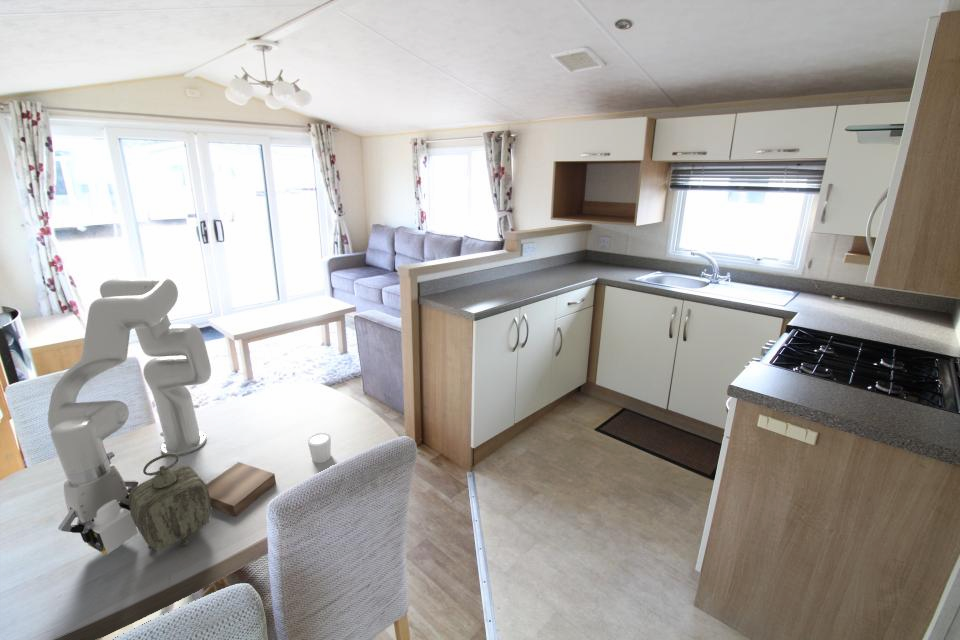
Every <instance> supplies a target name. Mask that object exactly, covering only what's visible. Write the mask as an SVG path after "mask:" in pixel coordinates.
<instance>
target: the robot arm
mask: <svg viewBox="0 0 960 640" xmlns="http://www.w3.org/2000/svg"><path fill="white" fill-rule="evenodd" d="M99 293H100V295H101V298H98V299H95V300H94V301H92V303H91V304H90V305H89V309H88V313H87V320H86V326H85V334H84V339H83V346H82V347H83V348H82V353H81V357H80V358H79V360H78V361H76V362H75V363H74V364H73V365H72V366H70V367H69V368H68V370H66V371H65V373H64V374H63V375H62V376H61V378H60V379H58V381H57V382H56V383H55V386H54V388H53V389H52V392H51V395H50V400H49V406H48V411H47V424H48V426H47V427H48V428H49V430H50V438H51V441H52V443H53V447H54V449H55V451H56V455H58V456H57V457H58V459H59V462H60V464H61V467H62V469H63V473H64V475H65V478H66V479H67V480H66V481H65V482H64V483H63V495H64V500H65V506H66V509H67V514H66V516H65V517H64V518H63V520H62V521H61V523H60V524H59V526H58V528H57V529H58V530H59V531H61V532H64V533H65V532H66V533H73V534H74V533H75V534H80V536H81V539H82V541H83V542H84V543H85V544H88V542H89V543H91V544H93V545H94V544H96V543H97V540H96V538H95V535H94V533H93V530H92V529H90V525H91V522H92V519H94V518H95V517H97V511H98V510H99V509H100V508H101V507H102V506H104V505H105V504H107V503H109V502H111V501H113V500H117V502H118V503H119V505H120V506H121V507H123V508H125V509H127V510H129V511H130V507H129V495H130V491H131V490H133V489H134V488H135V487H136V486H138V485H139V481H137V480H135V479H134V480H133V479H131V480H130V479H129V480H127V479H123V477H122V475H121V473H120V471H119V470H118V469H117V467H116V466H115V464H114V463H112V462H111V459H112V458H114V457H115V456H116V455H115V453H114V452H113V451H110V452H106V448H105V445H104V440H105V439H106V438H109V436H111V435H113V434H115V433H116V432H117V431H118V430H121V428H122V427H123V426H124V425H125V424H126V423H127V421H128V418H129V414H130V410H129V407H128V405H127V404H126V403H125V402H124V401H120V400H116V399H114V400H113V399H112V400H97V401H85V402H84V401H81V402H77V399H78V396H79V394H80V391H81V390H82V388H83V387H84V386H85V385H86V384H87V383H89V381H91V380H92V379H94V378H96V377H97V376H100V375H101V374H103V373H105V372H106V371H109V370H111V369H114V368H116V367H118V366H120V365H122V364H123V363H125V362H126V360H127V358H128V352H129V343H130V342H129V341H130V334H131V330H135V333H136V336H137V339H138V341H139V342H138V343H139V345H140V348H141V350H142V351H143V353H144V354H145V355H146V356H147V357H153V358H152V359H150V360H149V361H148V362H146V364H145V365H144V366H143V377H144V380H145V382H146V384H147V386H148V387H149V389H150V391H151V394H152V396H153V399H154V403H155V406H156V407H155V408H156V412H157V415H158V418H159V422H160V425H161V432H160V433H159V435H160V437H163V438H164V439H163V440H164V442H163V443H162V445H160V450H161V452H162V455H165V454H175V455H177V456H183V455H187V454H189V453H192V452H194V451H197V450H198V449H200V448H201V447H202V446H203V445H204V444H205V443H206V441H207V435H206V433H204V432H203V431H200V429H199V425H198V421H197V416H196V412H195V411H196V410H195V407H194V403H193V399H192V393H191V392H190V391H189V389H188V388H187V387H188V386H196V385H197V386H198V385H203V384H205V383H208V381H209V380H210V378H211V375H212V367H211V363H210V358H209V354H208V351H207V347H206V343H205V339H204V336H203V333H202V331H201V329H200V328H199V327H198V326H196V325H194V324H191V323H180V324H177V323H176V324H173V323H171V322H170V319H169V316H168V313H169V312H170V311H172V309H173V308H174V306H175V304H176V303H177V301H178V297H179V292H178V287H177V285H176V283H175V282H174V281H173V280H171V279H170V278H167V277H142V278H139V277H132V278H130V277H128V278H127V277H126V278H114V279H113V278H112V279H109V280H106V281H104V282H102V284H101V285H100V288H99ZM186 386H187V387H186ZM76 518H77V521H76V524H72V523H73V522H74V520H75V519H76Z"/></svg>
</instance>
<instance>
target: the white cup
mask: <svg viewBox="0 0 960 640" xmlns="http://www.w3.org/2000/svg"><path fill="white" fill-rule="evenodd" d="M331 439H332V438H331V435H330V434H328V433H326V432H319V433H315V434H312V435H311V436H309V438H308V439H307V444H308V447H309V452H310V456H311V460H312V462H314V463H317V464H321V463H325V462H328V461H329V460H330V458H331V456H332V455H331Z"/></svg>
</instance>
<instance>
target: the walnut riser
mask: <svg viewBox="0 0 960 640" xmlns="http://www.w3.org/2000/svg"><path fill="white" fill-rule="evenodd" d="M275 475H276V474H275V473H273V472H270V471H267V470H264V469H261V468H258V467H255V466H253V465H249V464H246V463H243V462H239V461H238V462H236V463H235V464H233V465H231V467H229V468H228V469H227V470H225V471H223V472H222V473H220V474H219V475H218V476H216V477H214V478H213V479H212V480H211V481H209V482H208V483H205V485H206V487H207V489H208V492H209V495H210V501H211V509H212V508H213V509H214V510H218V511H220V512H223V513H226V514H229V515H231V516H233V517H238V515H240V514H241V513H242V512H243V511H245V510H246V509H247V508H249V506H251V505H252V504H253V503H254V502H255V501H256V500H258V499H259V498H260V497H262V496H263V495H264V494H265V493H266V492H267V491H269V490H270V489H272V488H273V487H274V486H275V485H276V484H277V481H276V476H275Z"/></svg>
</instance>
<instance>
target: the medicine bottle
mask: <svg viewBox="0 0 960 640" xmlns="http://www.w3.org/2000/svg"><path fill="white" fill-rule="evenodd" d="M119 503H120V502H119ZM119 503H118V502H117V500H113V501H111V502H109V503H107V504H105V505H104V506H102V507H101V508H100V509H99V510H98V511H97V517H95V518H94V519H92V522H91V525H90V529H92V530H93V533H94V535H95V538H96V540H97V543H96V544H94V545H93V544H91V543H89V542H88V543H87V545H88V546H89V547H90V548H92V549H94V550H97V551H99V552H100V553H101V554H104V555H105V556H107V555H109V554H111V553H112V552H113V551H115V550H117V548H119V547H120V546H122V545H123V544H124V543H126V542H127V541H128V540H130V539H131V538H133V537H134V536H136V535H137V534H138V533H139V530H138V528H137V527H136V525H135V523H134V521H133V518H132V516H131V512H130V511H129V510H127V509H125V508H123V507H121V506H120V505H119Z"/></svg>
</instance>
